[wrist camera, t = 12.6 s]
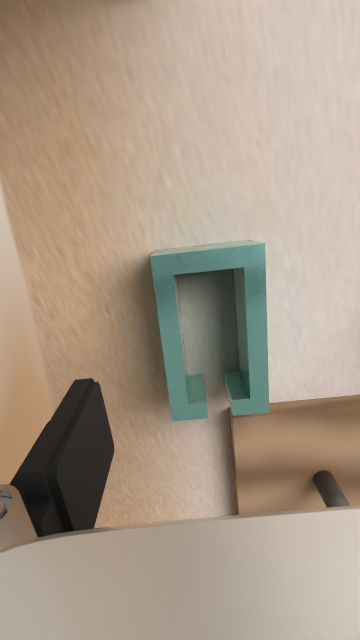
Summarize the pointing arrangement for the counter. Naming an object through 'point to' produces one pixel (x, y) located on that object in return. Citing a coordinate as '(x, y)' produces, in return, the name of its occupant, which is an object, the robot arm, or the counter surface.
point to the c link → (251, 313)
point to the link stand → (298, 456)
